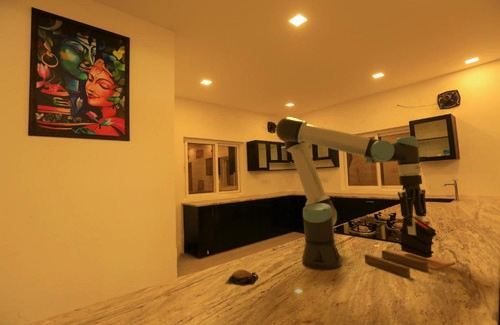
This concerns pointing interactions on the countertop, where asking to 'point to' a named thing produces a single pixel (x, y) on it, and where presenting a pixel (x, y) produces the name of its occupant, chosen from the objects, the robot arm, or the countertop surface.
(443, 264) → the mat
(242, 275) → the brown toy turtle
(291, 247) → the countertop surface
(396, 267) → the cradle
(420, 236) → the magazine
